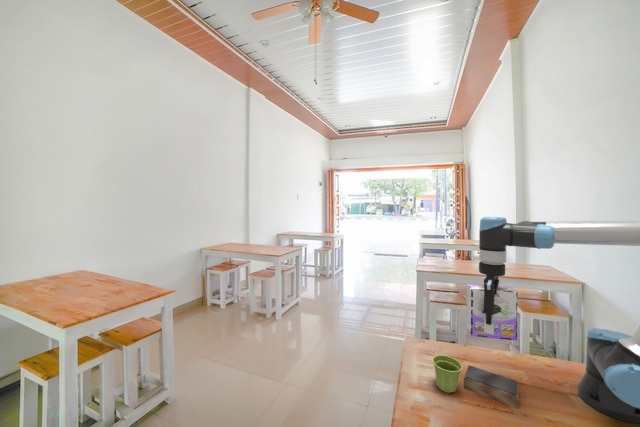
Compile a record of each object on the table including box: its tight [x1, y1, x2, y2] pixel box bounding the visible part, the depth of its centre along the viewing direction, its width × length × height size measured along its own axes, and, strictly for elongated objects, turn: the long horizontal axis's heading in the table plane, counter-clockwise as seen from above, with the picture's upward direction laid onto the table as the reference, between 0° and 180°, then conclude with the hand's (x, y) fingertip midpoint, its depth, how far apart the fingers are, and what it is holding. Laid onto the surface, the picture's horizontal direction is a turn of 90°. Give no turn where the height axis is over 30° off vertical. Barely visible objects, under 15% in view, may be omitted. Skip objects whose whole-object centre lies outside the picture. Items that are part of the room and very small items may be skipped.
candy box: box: [465, 283, 519, 342], centre depth 90 cm, size 14×6×16 cm, turn 75°
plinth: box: [463, 365, 520, 409], centre depth 90 cm, size 15×9×4 cm, turn 53°
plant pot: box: [431, 354, 463, 394], centre depth 91 cm, size 9×9×9 cm
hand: (490, 328), depth 91 cm, fingers closed on candy box, 8 cm apart
